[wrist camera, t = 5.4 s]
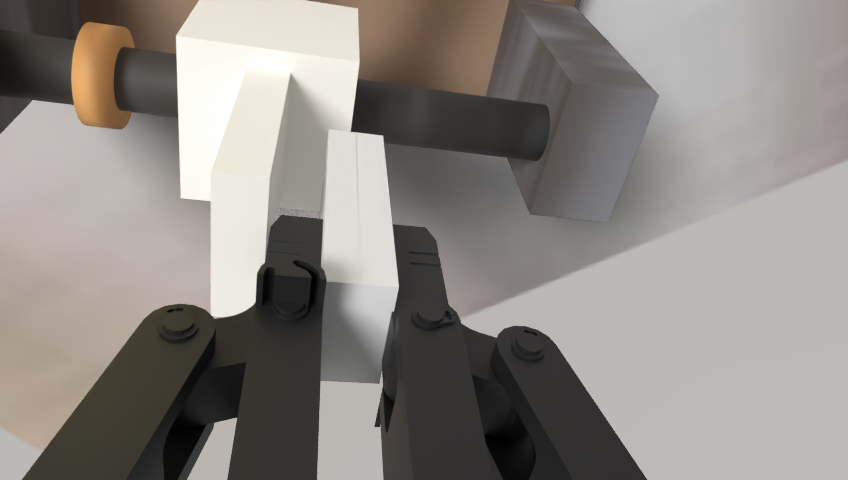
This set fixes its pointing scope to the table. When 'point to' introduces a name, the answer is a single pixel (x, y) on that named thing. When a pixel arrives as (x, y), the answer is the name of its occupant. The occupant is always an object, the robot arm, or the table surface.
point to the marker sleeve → (259, 121)
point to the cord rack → (379, 82)
